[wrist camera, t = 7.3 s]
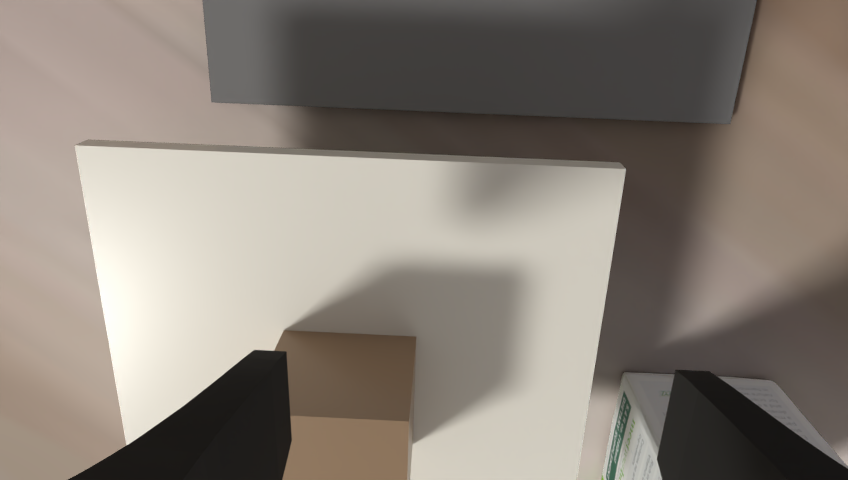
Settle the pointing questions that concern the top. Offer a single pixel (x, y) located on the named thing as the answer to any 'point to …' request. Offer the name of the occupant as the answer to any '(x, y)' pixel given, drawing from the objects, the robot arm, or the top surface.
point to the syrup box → (646, 410)
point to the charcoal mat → (484, 56)
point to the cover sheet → (362, 297)
